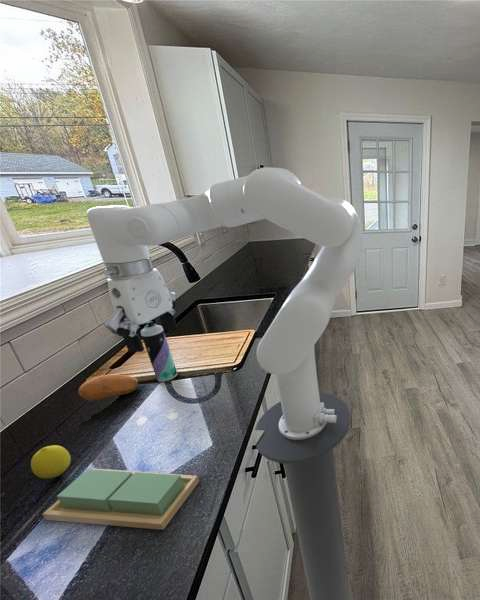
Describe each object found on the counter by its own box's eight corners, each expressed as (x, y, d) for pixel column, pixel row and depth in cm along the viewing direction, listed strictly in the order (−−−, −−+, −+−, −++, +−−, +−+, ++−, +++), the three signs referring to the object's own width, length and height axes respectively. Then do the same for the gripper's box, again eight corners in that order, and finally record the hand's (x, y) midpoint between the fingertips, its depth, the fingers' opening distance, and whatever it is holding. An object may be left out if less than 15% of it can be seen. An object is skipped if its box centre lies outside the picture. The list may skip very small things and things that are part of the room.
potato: (88, 396, 94) (83, 374, 92) (142, 387, 99) (138, 366, 98) (78, 408, 88) (72, 385, 86) (135, 398, 93) (131, 376, 92)
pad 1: (137, 484, 66) (131, 472, 65) (110, 512, 61) (104, 499, 59) (93, 480, 67) (87, 469, 66) (63, 508, 61) (56, 496, 60)
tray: (199, 481, 67) (197, 475, 67) (163, 530, 58) (160, 524, 57) (96, 473, 69) (94, 468, 69) (45, 519, 60) (42, 514, 59)
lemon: (82, 462, 72) (69, 436, 69) (63, 484, 67) (47, 456, 64) (55, 466, 71) (39, 439, 68) (32, 488, 66) (15, 460, 63)
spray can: (155, 383, 99) (135, 327, 92) (159, 374, 104) (140, 319, 96) (175, 379, 101) (157, 323, 94) (178, 370, 106) (161, 316, 98)
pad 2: (184, 487, 66) (180, 475, 64) (162, 516, 60) (157, 503, 59) (140, 483, 66) (135, 471, 65) (114, 512, 61) (107, 499, 59)
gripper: (108, 281, 57) (137, 361, 63) (178, 257, 73) (196, 323, 79) (70, 280, 57) (103, 360, 64) (148, 257, 73) (168, 322, 80)
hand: (154, 339), depth 72 cm, fingers open, 9 cm apart
